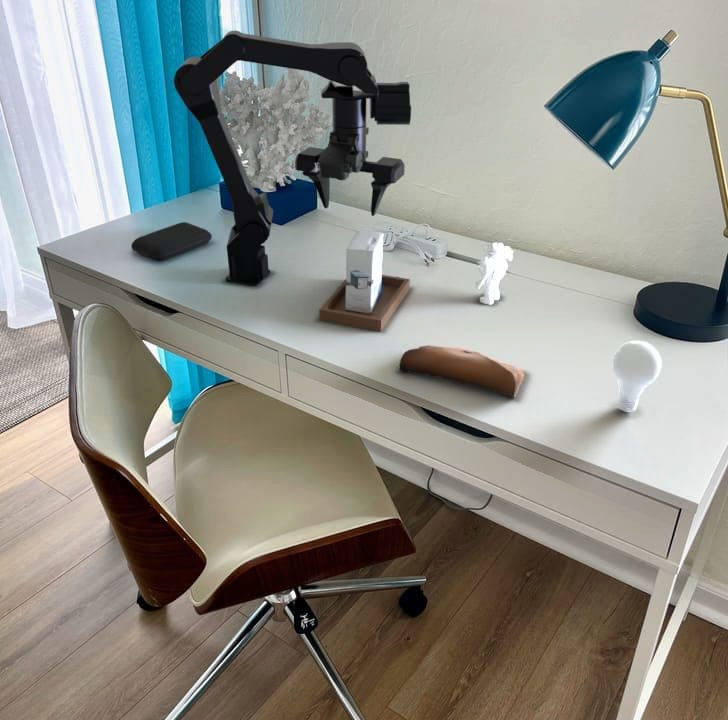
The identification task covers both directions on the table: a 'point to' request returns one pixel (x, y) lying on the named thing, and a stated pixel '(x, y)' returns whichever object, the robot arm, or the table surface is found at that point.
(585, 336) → the table surface
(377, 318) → the desk tray
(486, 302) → the flower shoulder figurine
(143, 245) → the carrying case
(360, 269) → the ink box
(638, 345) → the lightbulb
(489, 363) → the sunglasses case
